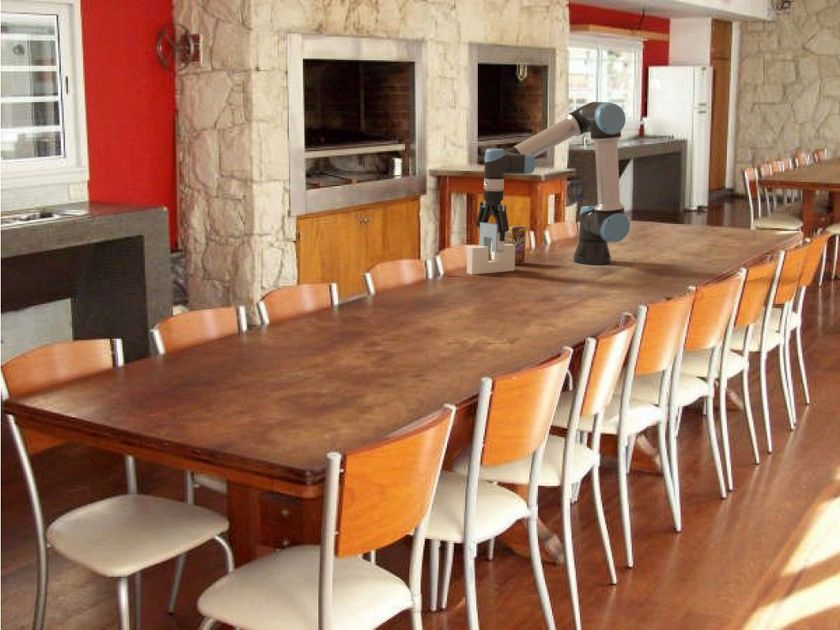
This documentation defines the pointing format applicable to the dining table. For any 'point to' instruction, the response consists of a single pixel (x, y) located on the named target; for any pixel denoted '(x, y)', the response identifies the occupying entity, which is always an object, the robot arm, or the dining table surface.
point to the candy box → (517, 241)
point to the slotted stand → (480, 263)
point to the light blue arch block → (489, 236)
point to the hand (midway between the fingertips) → (491, 247)
